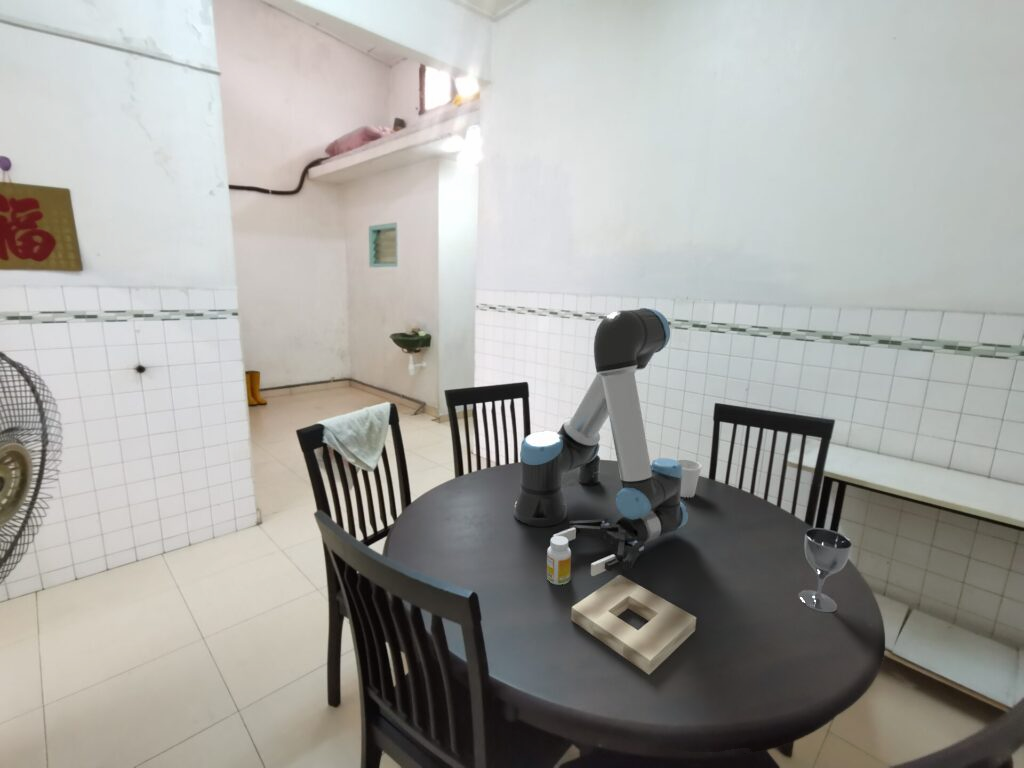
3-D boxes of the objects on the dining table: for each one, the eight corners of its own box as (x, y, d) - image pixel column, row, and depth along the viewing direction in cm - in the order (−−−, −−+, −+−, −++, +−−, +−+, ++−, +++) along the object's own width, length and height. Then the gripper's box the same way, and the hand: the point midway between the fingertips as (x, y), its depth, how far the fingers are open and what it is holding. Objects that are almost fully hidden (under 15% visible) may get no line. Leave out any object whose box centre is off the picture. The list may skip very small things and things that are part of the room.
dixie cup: (702, 499, 148) (706, 469, 145) (675, 499, 148) (678, 469, 145) (693, 487, 156) (696, 459, 153) (667, 487, 156) (670, 458, 153)
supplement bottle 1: (572, 573, 111) (573, 536, 109) (567, 587, 106) (568, 548, 104) (549, 569, 113) (550, 532, 110) (543, 582, 108) (544, 544, 106)
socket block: (571, 619, 96) (571, 607, 95) (619, 586, 107) (619, 574, 106) (649, 674, 83) (650, 660, 82) (694, 630, 93) (696, 617, 93)
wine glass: (840, 619, 97) (852, 553, 93) (795, 604, 101) (805, 541, 97) (839, 597, 103) (850, 534, 100) (796, 584, 107) (806, 524, 104)
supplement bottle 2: (598, 486, 156) (600, 452, 154) (577, 484, 158) (579, 450, 155) (599, 478, 163) (600, 444, 160) (579, 476, 164) (580, 443, 161)
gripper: (677, 566, 110) (609, 599, 99) (602, 520, 131) (539, 543, 120) (679, 537, 109) (611, 567, 97) (603, 495, 129) (540, 516, 118)
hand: (571, 554), depth 109 cm, fingers open, 13 cm apart
